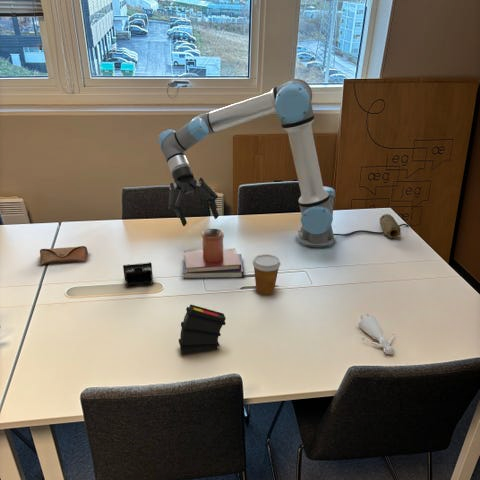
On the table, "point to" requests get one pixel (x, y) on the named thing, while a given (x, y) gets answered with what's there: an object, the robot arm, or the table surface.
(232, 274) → the navy book
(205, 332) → the magazine
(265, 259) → the disposable coffee cup
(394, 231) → the stone weight
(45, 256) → the sunglasses case
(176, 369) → the table surface
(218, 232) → the terracotta pot
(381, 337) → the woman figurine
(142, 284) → the end cap
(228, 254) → the burgundy book
